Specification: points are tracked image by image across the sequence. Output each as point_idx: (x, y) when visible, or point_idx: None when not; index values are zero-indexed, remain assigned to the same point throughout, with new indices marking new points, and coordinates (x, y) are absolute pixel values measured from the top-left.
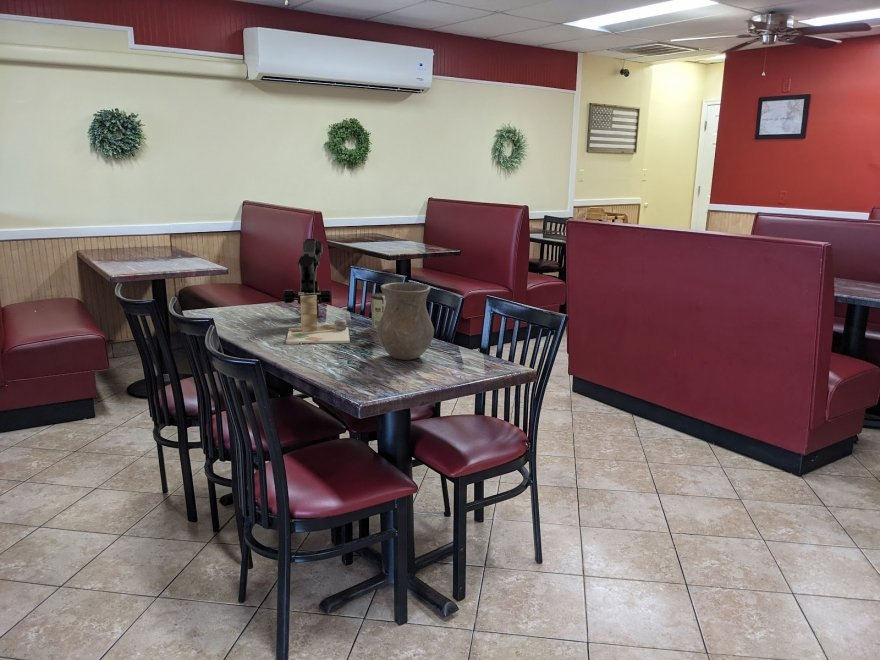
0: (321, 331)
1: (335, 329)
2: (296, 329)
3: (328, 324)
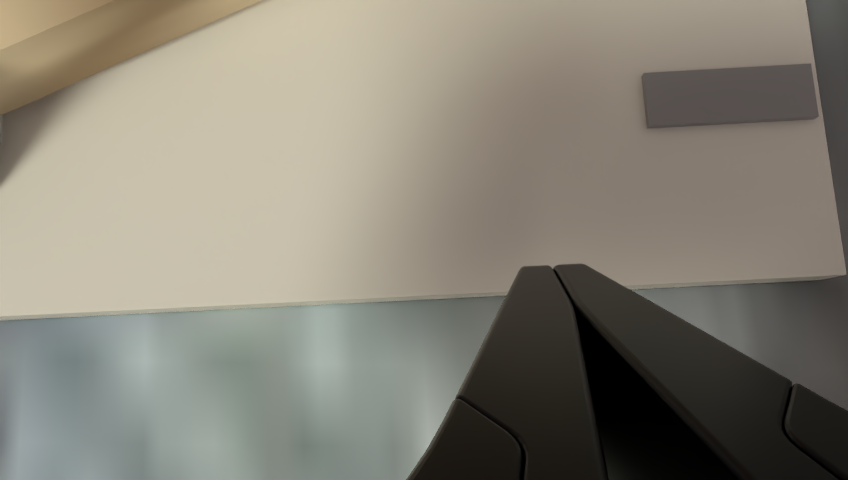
0: (248, 8)
1: (9, 155)
2: (691, 112)
3: (71, 10)
